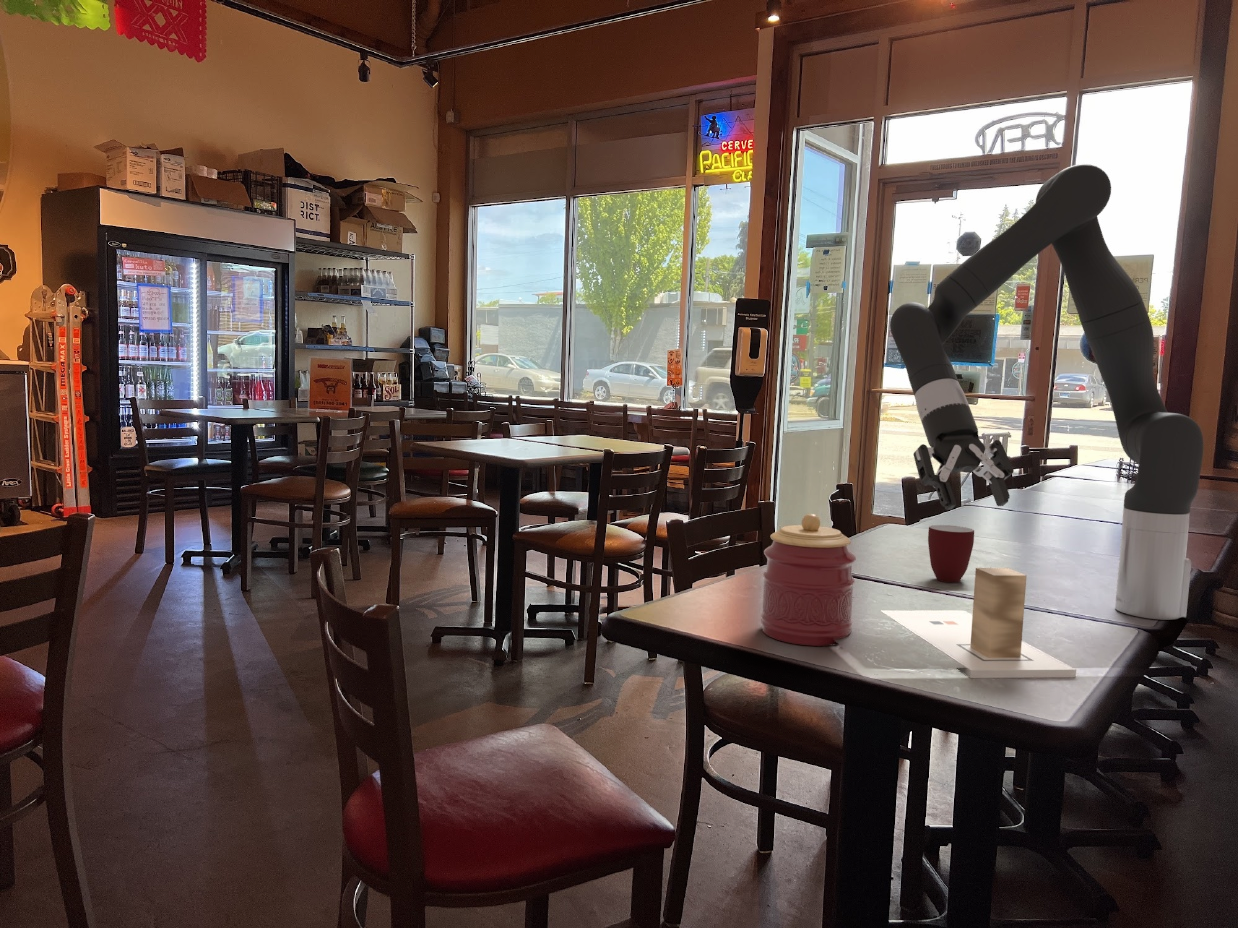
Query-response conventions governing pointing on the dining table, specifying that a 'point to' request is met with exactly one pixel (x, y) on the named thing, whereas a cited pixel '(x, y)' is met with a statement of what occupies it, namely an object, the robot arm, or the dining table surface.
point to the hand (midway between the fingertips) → (977, 505)
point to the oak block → (998, 612)
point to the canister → (808, 585)
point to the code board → (955, 640)
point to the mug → (950, 551)
